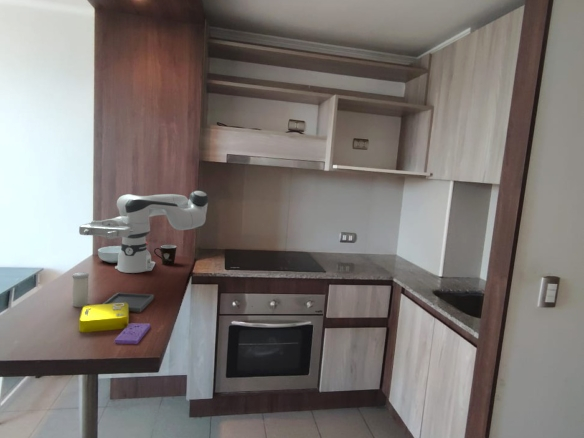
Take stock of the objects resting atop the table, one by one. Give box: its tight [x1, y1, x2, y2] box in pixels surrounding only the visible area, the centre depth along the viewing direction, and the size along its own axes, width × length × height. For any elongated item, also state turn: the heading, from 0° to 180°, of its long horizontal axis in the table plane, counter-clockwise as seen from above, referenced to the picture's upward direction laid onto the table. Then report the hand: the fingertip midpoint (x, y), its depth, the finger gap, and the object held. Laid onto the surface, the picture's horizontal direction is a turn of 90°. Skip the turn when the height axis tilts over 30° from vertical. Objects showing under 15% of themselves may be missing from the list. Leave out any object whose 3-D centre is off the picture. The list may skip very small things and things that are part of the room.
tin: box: [71, 272, 90, 308], centre depth 143 cm, size 5×5×12 cm
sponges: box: [114, 322, 151, 345], centre depth 122 cm, size 7×13×2 cm, turn 3°
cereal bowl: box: [97, 245, 122, 264], centre depth 207 cm, size 17×17×7 cm
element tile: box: [78, 303, 130, 333], centre depth 130 cm, size 15×15×5 cm
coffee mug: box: [153, 244, 177, 266], centre depth 210 cm, size 12×9×10 cm
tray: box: [102, 292, 155, 313], centre depth 147 cm, size 15×15×2 cm
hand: (96, 234), depth 152 cm, fingers open, 8 cm apart
